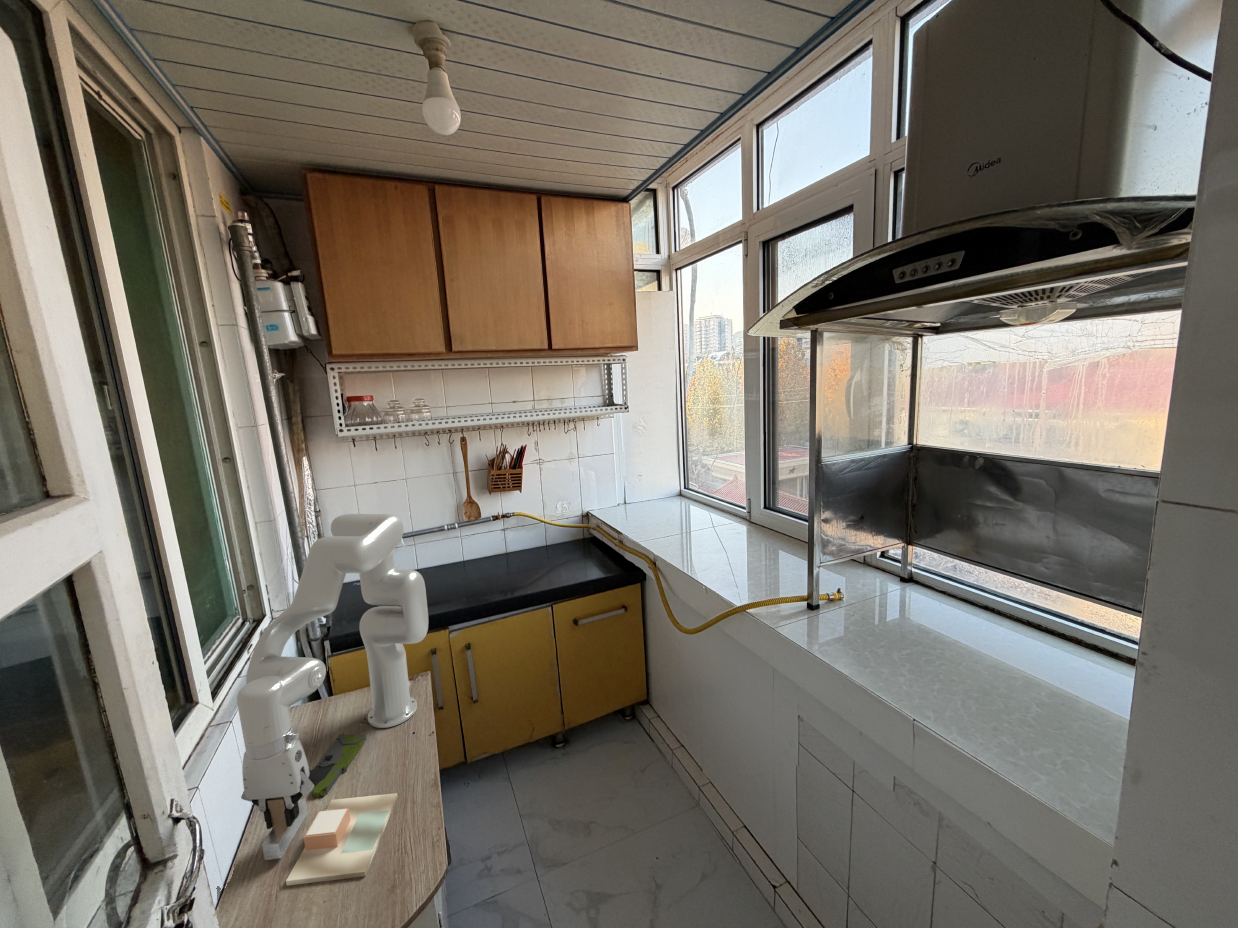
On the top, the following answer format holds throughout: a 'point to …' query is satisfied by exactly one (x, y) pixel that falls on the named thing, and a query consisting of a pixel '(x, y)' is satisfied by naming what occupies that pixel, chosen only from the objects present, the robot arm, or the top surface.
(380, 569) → the robot arm
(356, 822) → the board
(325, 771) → the gun
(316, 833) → the tile
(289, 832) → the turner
